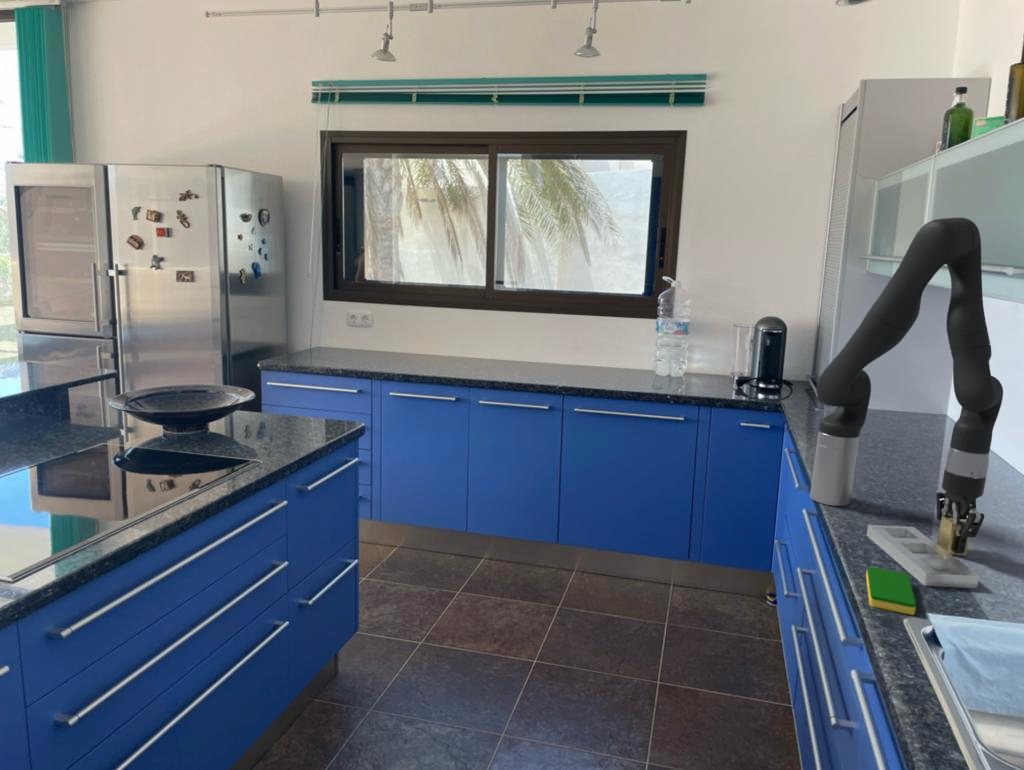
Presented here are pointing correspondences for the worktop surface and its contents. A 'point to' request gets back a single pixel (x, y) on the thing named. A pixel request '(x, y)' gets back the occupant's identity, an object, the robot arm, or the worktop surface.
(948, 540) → the brass peg
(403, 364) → the worktop surface
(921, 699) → the worktop surface
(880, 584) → the dish sponge
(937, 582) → the rail plate
